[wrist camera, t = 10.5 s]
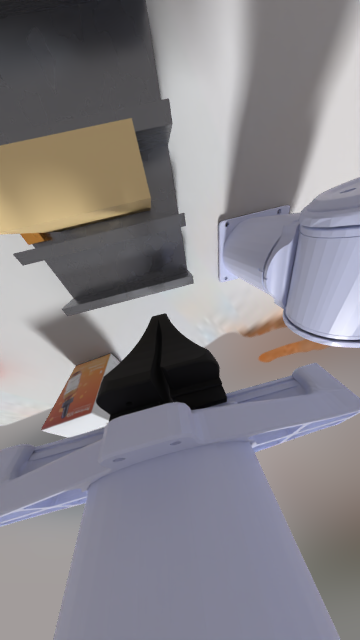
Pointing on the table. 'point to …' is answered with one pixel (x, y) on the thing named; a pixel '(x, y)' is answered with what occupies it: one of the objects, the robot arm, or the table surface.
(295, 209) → the table surface
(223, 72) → the table surface
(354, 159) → the table surface
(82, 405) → the small box
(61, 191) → the tan rectangular block
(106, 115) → the rack
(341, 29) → the table surface
